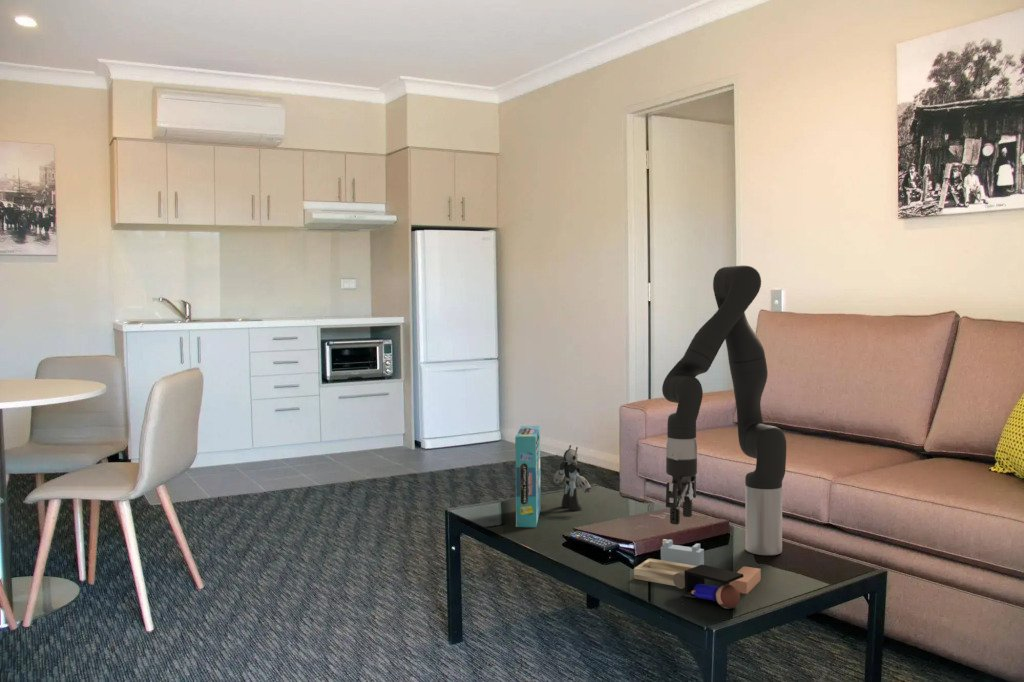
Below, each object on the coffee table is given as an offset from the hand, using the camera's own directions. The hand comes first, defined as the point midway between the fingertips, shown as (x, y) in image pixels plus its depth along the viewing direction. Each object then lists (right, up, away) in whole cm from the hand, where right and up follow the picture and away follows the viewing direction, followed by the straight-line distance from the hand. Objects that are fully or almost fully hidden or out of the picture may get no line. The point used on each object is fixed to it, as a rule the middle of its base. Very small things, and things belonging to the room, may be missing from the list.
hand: (681, 520), depth 209 cm
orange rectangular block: (+12, -12, -15) cm, 23 cm away
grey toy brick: (0, -12, +1) cm, 12 cm away
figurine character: (+1, -13, -25) cm, 28 cm away
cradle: (-5, -12, -9) cm, 16 cm away
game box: (-37, -10, +48) cm, 61 cm away
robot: (-23, -9, +61) cm, 65 cm away
